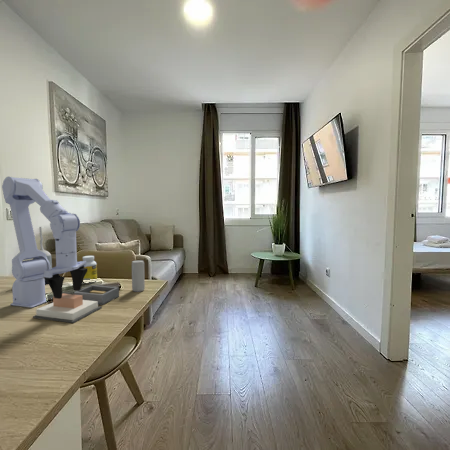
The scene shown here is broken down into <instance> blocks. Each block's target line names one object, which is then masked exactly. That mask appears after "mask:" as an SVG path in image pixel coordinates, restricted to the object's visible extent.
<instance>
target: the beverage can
mask: <svg viewBox="0 0 450 450" xmlns="http://www.w3.org/2000/svg"><path fill="white" fill-rule="evenodd" d="M145 283H146V281H145V261H144V260H142V259H140V260H139V259H138V260H137V259H136V260H133V261H131V287H132V288H131V290H132V291H133V292H134V293H141V292H143V291H144V290H145V288H146V287H145Z"/></svg>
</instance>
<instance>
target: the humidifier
mask: <svg viewBox="0 0 450 450" xmlns="http://www.w3.org/2000/svg"><path fill="white" fill-rule="evenodd" d="M38 230H39V237H40V239H39V246H40V247H39V250H40V251H42V252H44V253H45V254H46V257H47V259H48V261H49V262H50V269H51V268H53V263H52V254H51V253H50V252H49V251H48V250H46V249H47V248H45V249H44V246H43V239H44V237H45V239H47V238H46V236H44V237H43V231H42V226H39V229H38ZM47 285H49V284H48V283H47V282H46V280H45V286H47Z"/></svg>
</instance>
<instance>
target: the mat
mask: <svg viewBox="0 0 450 450" xmlns="http://www.w3.org/2000/svg"><path fill="white" fill-rule="evenodd" d="M102 308H103V307H102V306H101V305H98V307H97V308H96V309H94V310H92V311H90V312H88V313H86V314H84V315H82V316H80V317H78V318H76V319H75V320H67V319H59V318H51V317H44V316H36V314H35V315H33V316H32V318H33V319H39V320H46V321H53V322H63V323H69V324H75V323H77V322H79V321H80V320H83V319H85V318H86V317H88V316H90V315H92V314H94V313H95V312H97V311H99V310H101V309H102Z"/></svg>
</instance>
